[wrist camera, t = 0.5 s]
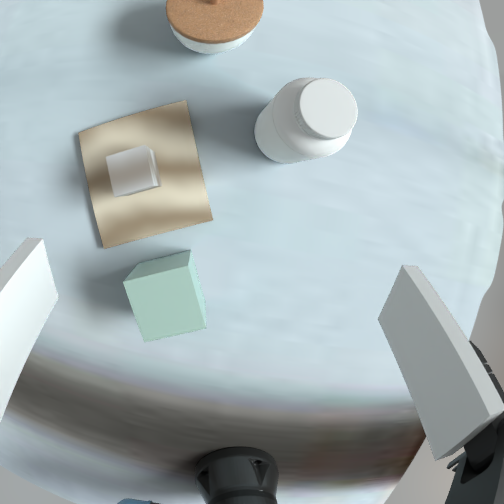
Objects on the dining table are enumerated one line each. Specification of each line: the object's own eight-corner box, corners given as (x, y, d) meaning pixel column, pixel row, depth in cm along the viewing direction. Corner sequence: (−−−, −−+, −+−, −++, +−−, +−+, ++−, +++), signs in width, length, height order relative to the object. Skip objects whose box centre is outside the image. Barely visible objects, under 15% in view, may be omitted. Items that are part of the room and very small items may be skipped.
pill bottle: (248, 158, 37) (276, 141, 23) (258, 98, 36) (290, 51, 21) (309, 170, 39) (367, 163, 24) (318, 111, 37) (376, 78, 23)
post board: (212, 219, 38) (215, 226, 31) (106, 247, 37) (86, 260, 29) (186, 102, 35) (183, 83, 27) (81, 134, 33) (56, 123, 26)
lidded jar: (241, 74, 35) (253, 43, 26) (160, 58, 33) (149, 25, 24) (261, 11, 33) (275, -26, 24) (185, -3, 31) (183, -43, 22)
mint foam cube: (205, 302, 40) (206, 328, 32) (154, 314, 39) (144, 342, 32) (191, 249, 38) (188, 265, 31) (137, 263, 38) (122, 281, 30)
